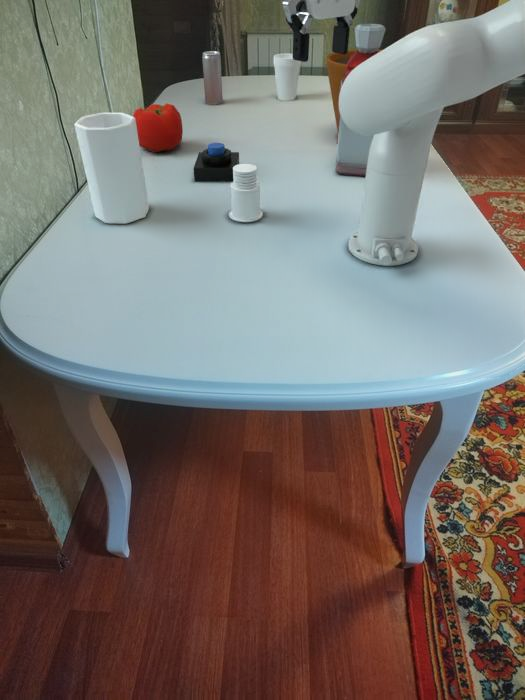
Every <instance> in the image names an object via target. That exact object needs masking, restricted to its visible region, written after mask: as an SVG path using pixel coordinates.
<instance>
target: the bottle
mask: <svg viewBox="0 0 525 700" xmlns="http://www.w3.org/2000/svg"><path fill="white" fill-rule="evenodd" d="M386 30H387V29H386V27H385V25H382V24H379V23H360V24H357V25H356V26H355V27H354V38H355V47H356V50H357V49H358V51H356V52H355V53H354V54H353V55H352V56H351V57H350V59H349V61H348V63H347V66H346V68H345V71H344V78H343V79H342V81H341V87H342V85H343V83H344V81H345V79H346V77H347V76H348V75H349V73H350V72H351V71H352V70H353V69H354V68H355V67H357V66H358V65H359V64H361V63H362V62H364V61H366V60H367V59H369V58H371V57H372V56H374V55H376V54H377V53H379V52H378V51H377V50H380V48H381V46H382V42H383V40H384V35H385V32H386ZM338 126H339V133H338V132H337V138H336V145H337V147H336V158H335V160H336V161H335V163H336V166H335V172H336V173H337V174H339V175H345V176H358V177H359V176H360V177H366V170H367V162H368V156H369V150H370V146H371V142H372V139H373V137H374V135H371V136H365V135H360V134H357V133H355V132H353V131H352V130H350V129H349V128H348V127H347V126H346V125H345V123H344V122H343V120H342V118H341V115H340V112H339V113H338Z"/></svg>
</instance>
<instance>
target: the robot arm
mask: <svg viewBox="0 0 525 700" xmlns="http://www.w3.org/2000/svg"><path fill="white" fill-rule="evenodd" d="M361 1H362V0H283V1H282V8H283V12H284V15H285V21H286V23H287V25H288V26H289V30H290V32H291V33H292V54H293V59H294V60H297V61H301V63H306V62H307V63H308V61H309V58H310V57H309V54H310V33H307V32H308V30H309V28H310V26H311V24H312V22H313V20H314V19H316V20H326V19H333V18H334V21H335V23H336V25H333V32H332V44H331V52H332V53H339V54H347V52H348V50H349V42H350V41H349V40H350V30H351V29H350V28H351V27H353V24H354V20H355V17H356V16H357V13H358V9H359V6H360V3H361ZM381 50H382V51H380V52H379V53H377V54H376V55H374V56H372V57H371V58H369V59H367V60H366V61H364V62H362V63H361V64H359V65H358V66H357V67H355V68H354V69H353V70H352V71H351V72H350V73H349V75H348V76H347V77H346V79H345V81H344V83H343V85H342V87H341V90H340V94H339V112H340V115H341V118H342V120H343V122H344V123H345V125H346V126H347V127H348V128H349V129H350V130H352V131H353V132H355V133H357V134H360V135H365V136H371V135H374V137H373V139H372V142H371V146H370V150H369V156H368V162H367V170H366V176H365V177H364V186H363V187H364V188H363V195H362V202H361V210H360V218H359V219H360V220H359V226H358V231H357V232H355V233H353V234H352V235H351V236H350V237H349V239H348V250H349V252H350V253H351V254H352V255H353V256H354V257H355V258H357V259H358V260H361V261H363V262H365V263H368V264H372V265H377V266H384V267H385V266H387V267H388V266H389V267H390V266H391V267H392V266H400V265H404V264H407V263H409V262H411V261H413V260H414V259H415V258H416V257H417V255H418V252H419V244H418V243H417V241H416V240H415V239H414V238H413V232H414V228H415V223H416V217H417V213H418V209H419V208H418V207H419V203H420V198H421V193H422V188H423V183H424V178H425V173H426V169H427V166H428V165H427V164H428V160H429V155H430V150H431V146H432V142H433V139H434V135H435V132H436V130H437V126H438V124H439V121H440V118H441V117H442V113H443V110H444V108H446V107H449V106H453V105H457V104H460V103H463V102H467V101H470V100H472V99H475V98H477V97H479V96H480V95H483V94H485V93H487V92H488V91H490V90H492V89H494V88H496V87H499V86H500V85H502V84H505V83H507V82H510V81H511V80H514V79H517V78H519V77H521V76H523V75H525V0H508V1H506V2H505V3H503V4H501V5H499V6H497V7H495V8H493V9H491V10H489V11H487V12H485V13H482V14H481V15H478V16H475V17H471V18H465V19H458V20H453V21H446V22H445V21H444V22H439V23H435V24H430V25H427V26H424V27H421V28H419V29H417V30H414V31H413V32H410V33H409V34H406V35H405V36H403V37H402V38H400V39H399V40H397V41H396V42H393V43H392V44H390V45H389V46H387V47H385V48H384V49H381Z"/></svg>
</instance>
